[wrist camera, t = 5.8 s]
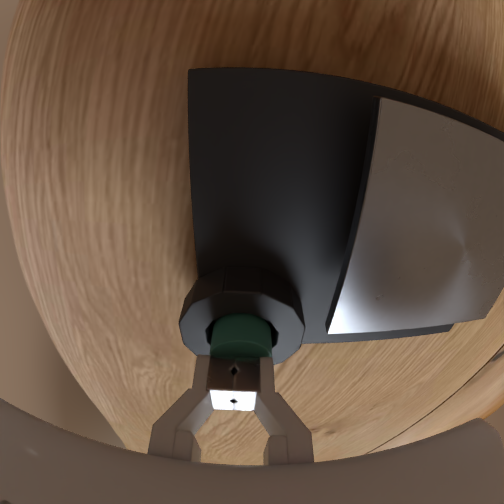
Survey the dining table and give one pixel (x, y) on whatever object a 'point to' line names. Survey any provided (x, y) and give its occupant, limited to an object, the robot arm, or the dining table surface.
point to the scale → (279, 198)
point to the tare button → (241, 336)
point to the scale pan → (422, 225)
